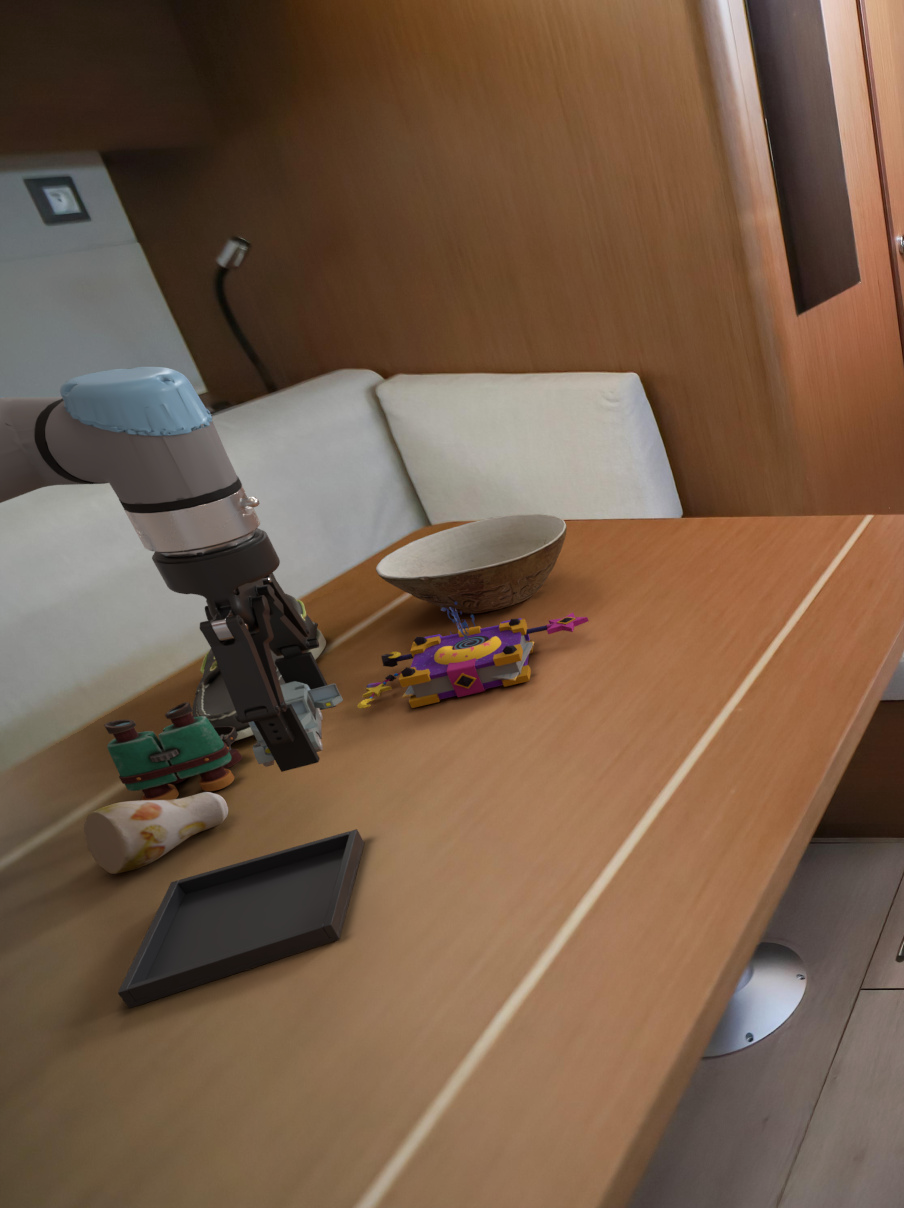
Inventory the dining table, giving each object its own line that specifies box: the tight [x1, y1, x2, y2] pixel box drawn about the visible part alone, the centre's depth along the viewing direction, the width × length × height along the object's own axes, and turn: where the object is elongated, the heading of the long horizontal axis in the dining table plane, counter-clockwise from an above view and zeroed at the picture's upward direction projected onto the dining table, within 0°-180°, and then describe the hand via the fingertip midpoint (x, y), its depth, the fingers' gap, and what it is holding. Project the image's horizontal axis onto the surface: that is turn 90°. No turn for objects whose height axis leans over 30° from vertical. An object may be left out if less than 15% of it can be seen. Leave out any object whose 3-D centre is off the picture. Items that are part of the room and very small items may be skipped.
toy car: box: [248, 681, 344, 768], centre depth 96 cm, size 6×10×5 cm, turn 41°
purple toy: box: [357, 595, 590, 709], centre depth 128 cm, size 15×25×12 cm, turn 121°
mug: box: [83, 791, 229, 875], centre depth 100 cm, size 8×10×10 cm
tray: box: [117, 828, 365, 1009], centre depth 92 cm, size 14×15×2 cm
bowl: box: [375, 513, 568, 615], centre depth 148 cm, size 24×24×10 cm
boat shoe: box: [191, 593, 327, 742], centre depth 124 cm, size 11×29×9 cm, turn 38°
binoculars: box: [103, 701, 243, 801], centre depth 108 cm, size 9×11×10 cm
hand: (310, 735), depth 97 cm, fingers closed on toy car, 10 cm apart
